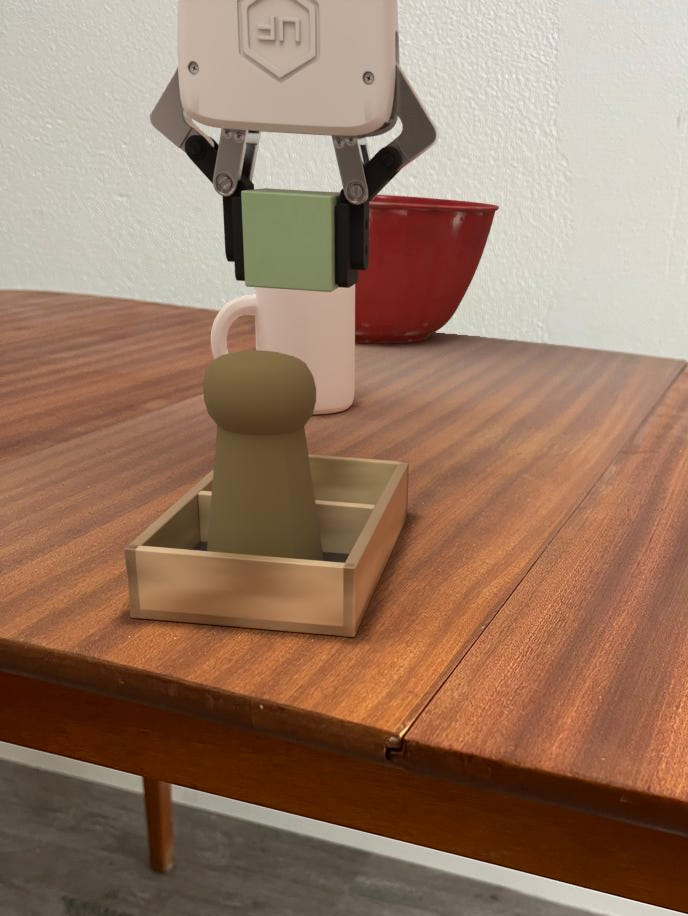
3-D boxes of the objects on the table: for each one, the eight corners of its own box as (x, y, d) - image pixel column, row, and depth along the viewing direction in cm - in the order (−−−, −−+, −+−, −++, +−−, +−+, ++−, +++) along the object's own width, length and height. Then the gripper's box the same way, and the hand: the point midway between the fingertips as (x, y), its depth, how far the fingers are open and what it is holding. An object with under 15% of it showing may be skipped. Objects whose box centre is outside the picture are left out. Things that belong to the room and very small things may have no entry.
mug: (218, 417, 83) (212, 284, 79) (209, 395, 90) (202, 271, 86) (363, 415, 87) (365, 287, 82) (343, 393, 94) (343, 274, 89)
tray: (130, 618, 48) (123, 548, 47) (238, 502, 64) (236, 448, 63) (354, 637, 48) (355, 568, 46) (407, 516, 64) (408, 461, 62)
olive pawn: (194, 559, 53) (181, 342, 49) (308, 549, 56) (306, 341, 51) (216, 604, 48) (203, 367, 44) (340, 591, 51) (340, 365, 46)
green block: (244, 286, 52) (240, 190, 50) (267, 277, 56) (264, 188, 54) (331, 292, 52) (331, 196, 50) (348, 282, 56) (348, 193, 54)
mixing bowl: (261, 311, 134) (257, 183, 128) (477, 321, 138) (484, 196, 131) (240, 351, 109) (234, 193, 102) (504, 361, 113) (515, 209, 106)
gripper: (70, -176, 43) (113, 279, 51) (468, -158, 43) (450, 301, 50) (137, -131, 50) (166, 264, 58) (481, -115, 49) (463, 284, 57)
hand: (298, 277), depth 54 cm, fingers closed on green block, 4 cm apart
